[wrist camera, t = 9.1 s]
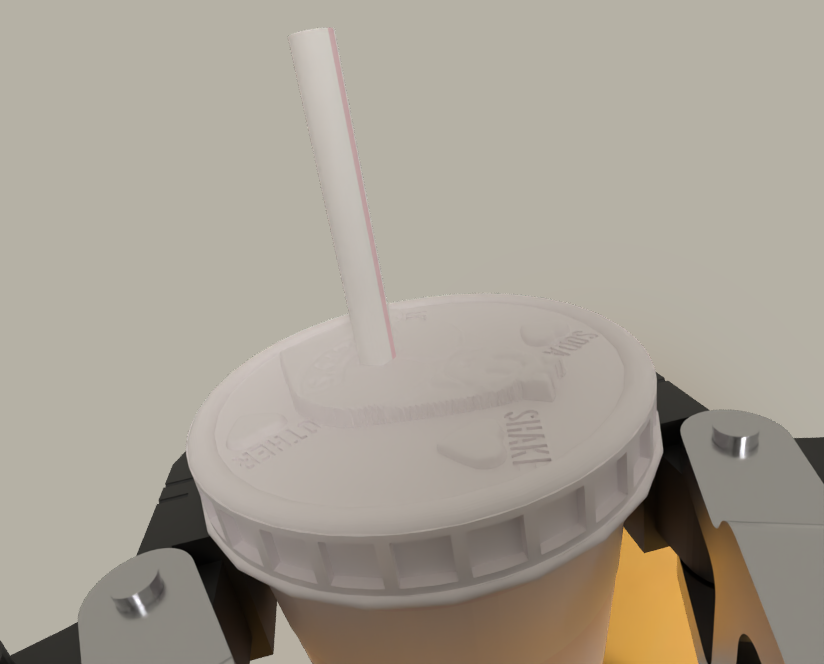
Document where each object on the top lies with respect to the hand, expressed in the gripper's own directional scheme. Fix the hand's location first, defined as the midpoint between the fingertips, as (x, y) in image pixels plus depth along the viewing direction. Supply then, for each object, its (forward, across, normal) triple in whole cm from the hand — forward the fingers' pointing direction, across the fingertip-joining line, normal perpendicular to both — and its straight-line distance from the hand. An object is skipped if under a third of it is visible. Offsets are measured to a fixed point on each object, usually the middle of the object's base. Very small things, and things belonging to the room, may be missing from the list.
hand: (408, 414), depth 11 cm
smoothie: (-2, 0, +8) cm, 8 cm away
